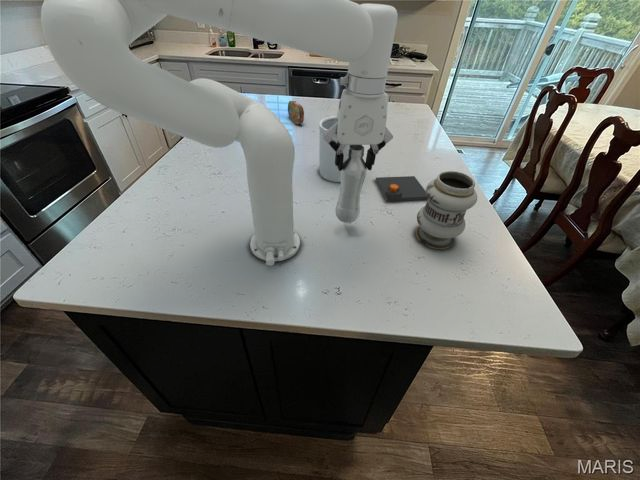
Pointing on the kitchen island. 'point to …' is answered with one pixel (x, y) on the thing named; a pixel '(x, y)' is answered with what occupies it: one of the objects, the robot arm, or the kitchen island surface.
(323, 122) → the utensil holder
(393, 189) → the tare button
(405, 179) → the scale
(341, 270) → the kitchen island surface
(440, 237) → the apothecary jar
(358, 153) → the plastic bottle
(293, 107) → the mottled brown slab
